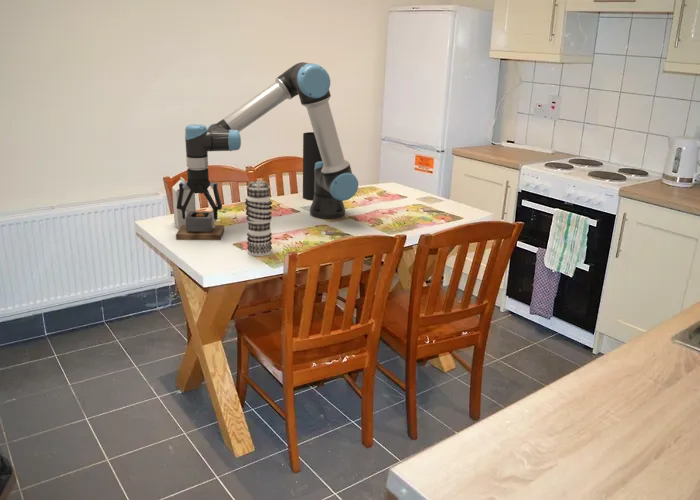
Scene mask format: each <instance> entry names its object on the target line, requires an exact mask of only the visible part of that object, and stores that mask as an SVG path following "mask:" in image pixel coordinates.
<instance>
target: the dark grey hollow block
mask: <svg viewBox="0 0 700 500" xmlns="http://www.w3.org/2000/svg"><path fill="white" fill-rule="evenodd" d="M198 213H203V214H204V217H196V214H198ZM211 230H212V214H211V211H197V210H196V211H190V212H189V214H188V215H187V217H186V231H211Z"/></svg>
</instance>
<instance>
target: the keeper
mask: <svg viewBox="0 0 700 500" xmlns="http://www.w3.org/2000/svg"><path fill="white" fill-rule="evenodd" d="M196 217H204V214H203V213H198V214H196ZM224 232H225V225H223V224H219V225H218V224H215V228H212V230H211V231H186V225H182V226H181V227H180V229H178V231H177V232H176V234H175V239H176V240H177V241H178V240H180V241H181V240H183V241H184V240H185V241H221V239H222V237H223V234H224Z"/></svg>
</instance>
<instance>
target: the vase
mask: <svg viewBox="0 0 700 500" xmlns="http://www.w3.org/2000/svg"><path fill="white" fill-rule="evenodd" d="M319 161H322V158H321V155H320V151H319V148H318V145H317V141H316V138H315V134H314V131H313V132H311V131H310V132H304V133H302V199H304V200H307V201H308V200H309V201H313V199H314V177H315V171H314V169H315V163H316V162H319Z"/></svg>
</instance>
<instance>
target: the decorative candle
mask: <svg viewBox="0 0 700 500" xmlns="http://www.w3.org/2000/svg"><path fill="white" fill-rule="evenodd" d="M270 188H272V187H271V185H269V184H268V183H267V182H266V181H263V180H255V181H254V180H253V181H251V182H249V184H248V185H246V189H247V196H246V198H245V202H244V203H245V206H246V207H245V211H246V212H245V215H246V216H247V217H246V219H245V220H246V222H247V224H248V225H247V226H248V227H247V233H246V236H247V238H246V239H247V242H246V245H247V246H246V248H247V254H248V255H249V256H254V257H266V256H268V254H269V255H271V254H272V253H273V251H272V249H273V246H272V244H273V243H272V240H273V238H272V236H273V234H272V232H271V231H272V230H271V221H272V218H273V216H271V215H272V214H273V213H272V212H271V210H272V209H273V206H272V204H273V202H272V201H271V194H270V193H271V192H270ZM271 252H272V253H271ZM265 255H266V256H265Z"/></svg>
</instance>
